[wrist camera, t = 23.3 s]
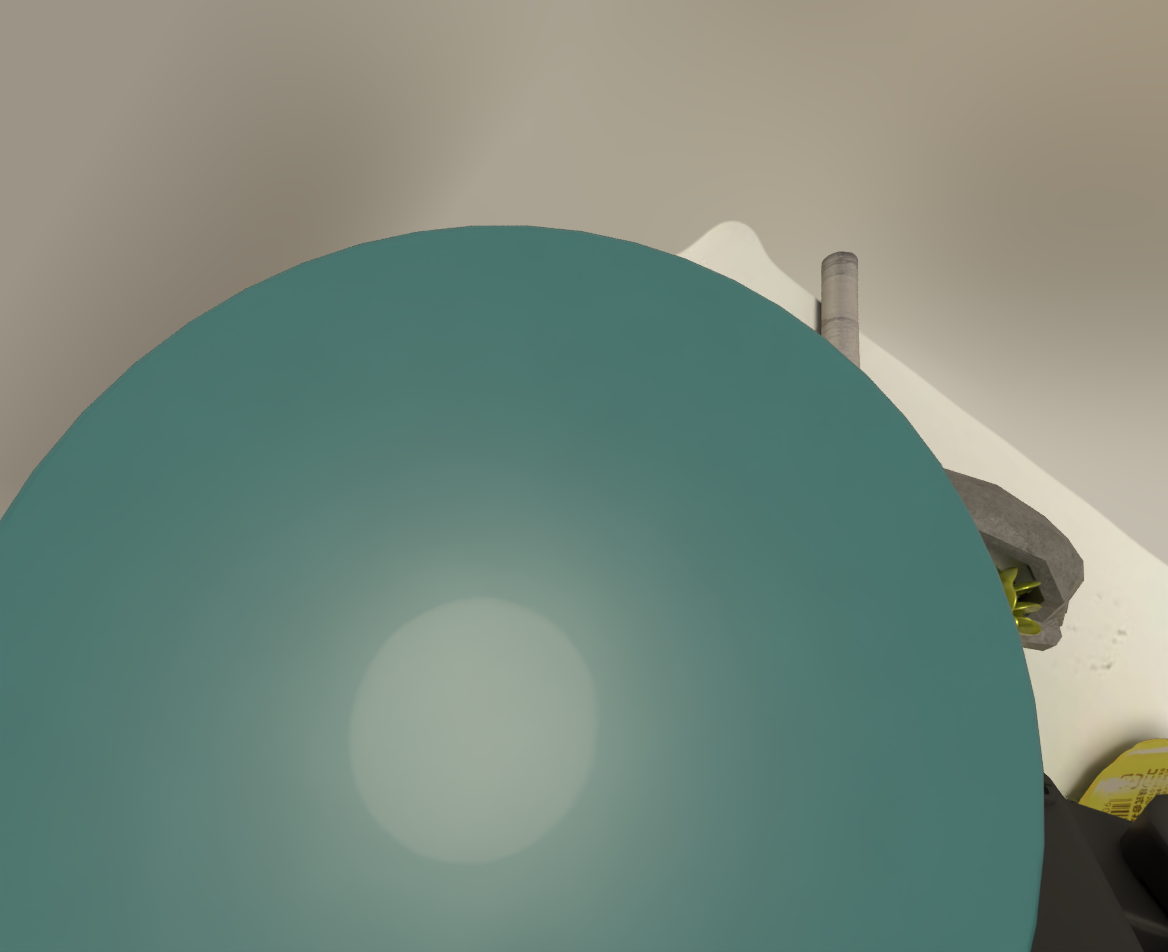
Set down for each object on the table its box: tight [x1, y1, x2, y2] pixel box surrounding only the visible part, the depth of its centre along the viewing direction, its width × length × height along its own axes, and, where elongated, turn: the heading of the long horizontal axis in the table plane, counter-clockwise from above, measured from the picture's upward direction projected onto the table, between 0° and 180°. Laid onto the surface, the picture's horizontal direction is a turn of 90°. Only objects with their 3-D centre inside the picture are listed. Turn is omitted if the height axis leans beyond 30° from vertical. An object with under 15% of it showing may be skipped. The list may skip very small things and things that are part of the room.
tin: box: [0, 226, 1044, 952], centre depth 9 cm, size 6×6×11 cm
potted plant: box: [944, 468, 1084, 651], centre depth 34 cm, size 12×13×15 cm
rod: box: [821, 252, 860, 368], centre depth 45 cm, size 12×3×3 cm, turn 172°
